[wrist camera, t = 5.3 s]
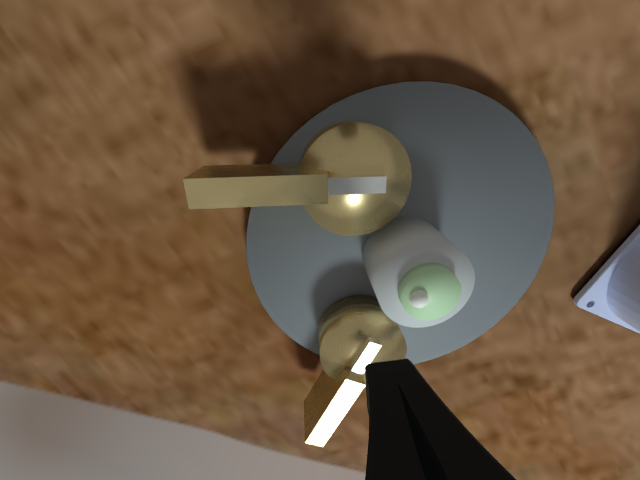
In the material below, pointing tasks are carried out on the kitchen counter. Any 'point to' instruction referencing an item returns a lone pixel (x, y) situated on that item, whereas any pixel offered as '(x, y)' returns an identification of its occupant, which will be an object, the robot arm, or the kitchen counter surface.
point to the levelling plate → (444, 188)
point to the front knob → (319, 180)
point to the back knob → (347, 360)
